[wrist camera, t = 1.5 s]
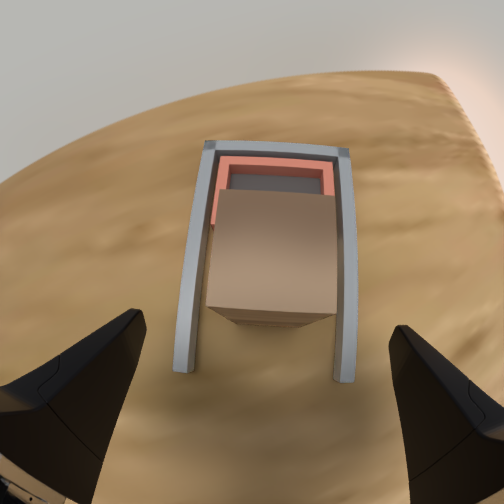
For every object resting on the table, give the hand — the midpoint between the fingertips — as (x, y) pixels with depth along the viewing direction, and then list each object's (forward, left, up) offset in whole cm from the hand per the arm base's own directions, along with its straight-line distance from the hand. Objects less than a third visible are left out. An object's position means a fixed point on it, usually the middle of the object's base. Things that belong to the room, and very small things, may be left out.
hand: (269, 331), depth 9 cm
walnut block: (+2, -2, -11) cm, 11 cm away
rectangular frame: (+6, -9, -11) cm, 15 cm away
